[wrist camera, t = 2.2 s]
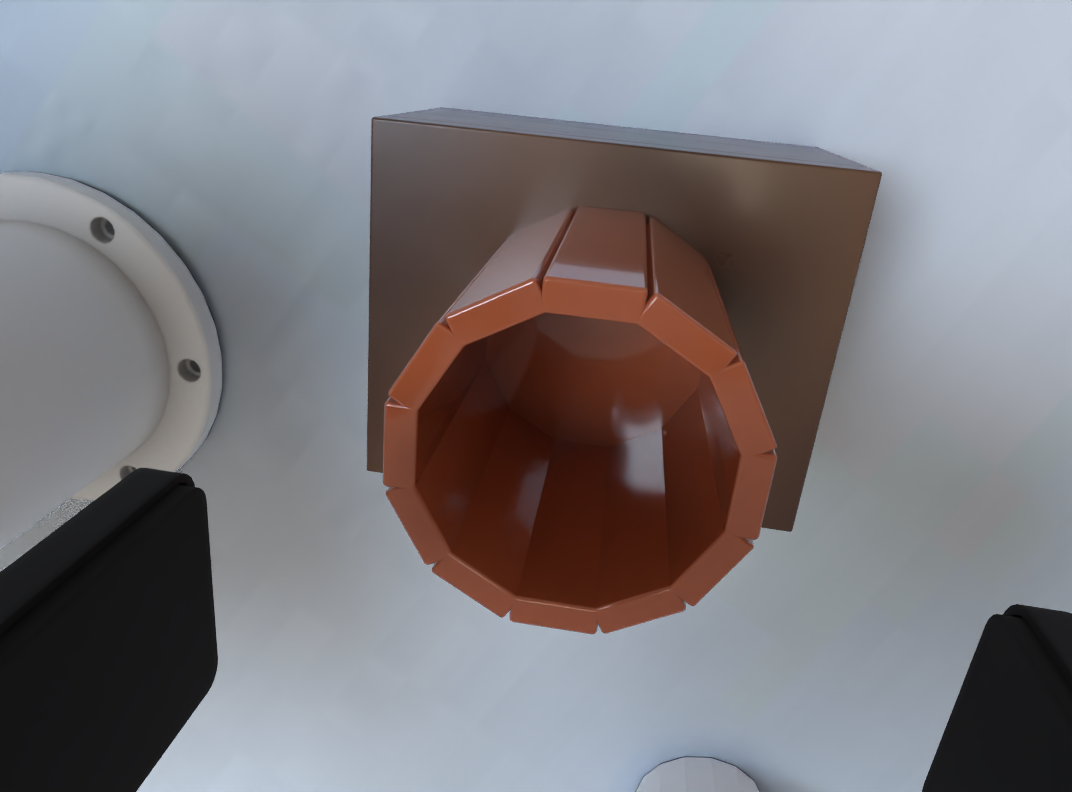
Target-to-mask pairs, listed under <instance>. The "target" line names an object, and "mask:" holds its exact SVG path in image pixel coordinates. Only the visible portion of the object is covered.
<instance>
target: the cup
mask: <svg viewBox="0 0 1072 792" xmlns="http://www.w3.org/2000/svg"><path fill="white" fill-rule="evenodd" d="M388 395H389V396H390V397H389V398H388V400H387V401H386V402H385V405H384V449H383V484H384V485H385V486H388V487H389V488H388V489H387V491H386V496H387V498H388V500H389V501H390V503H391V505H392V507H393V508H394V510H395V512H396V514H397V515H398V517H399V519H400V521H401V522H402V524H403V526H404V528H405V530H406V531H407V533H408V535H409V537H410V538H411V540H412V542H413V544H414V545H415V547H416V549H417V551H418V553H419V554H420V556H421V558H422V560H423V561H424V563H425V564H426V565H429V564H432V563H434V565H433V567H432V572H433V573H434V574H436V575H437V576H439V577H440V578H442V579H443V580H445V581H446V582H448V583H449V584H451V585H452V586H454V587H455V588H457V589H458V590H460V591H461V592H463V593H465V594H466V595H468V596H469V597H471V598H472V599H474V600H475V601H477V602H478V603H480V604H481V605H483V606H484V607H486V608H487V609H489V610H490V611H492V612H493V613H495V614H496V615H498V616H499V617H504V616H505V615H506V614H507V613H508V612H509V611H510V620H511V621H512V622H517V623H523V624H530V625H536V626H542V627H549V628H555V629H562V630H568V631H574V632H581V633H587V634H595V633H596V631H597V626H598V625H599V627H600V629H601V631H602V632H603V633H610V632H613V631H617V630H620V629H623V628H627V627H630V626H634V625H637V624H641V623H644V622H648V621H651V620H655V619H658V618H661V617H665V616H668V615H672V614H675V613H679V612H682V611H684V610H685V609H686V602H687V603H688V604H690V605H691V606H695V605H696V604H697V603H698V602H699V601H700V600H701V599H702V598H703V597H704V596H705V595H706V594H707V593H708V592H709V591H710V590H711V589H712V588H713V587H714V586H715V585H716V584H717V583H718V582H719V581H720V580H721V579H722V578H723V577H724V576H725V575H726V574H727V573H728V572H729V571H730V570H731V569H732V568H733V567H735V566H736V565H737V564H738V563H739V562H740V561H741V560H742V559H743V558H744V557H745V556H746V555H747V554H748V553H749V552H750V551H751V550H752V549H753V547H754V545H753V541H752V539H753V540H756V539H758V537H759V534H760V530H761V526H762V521H763V517H764V513H765V509H766V504H767V500H768V496H769V492H770V487H771V483H772V479H773V475H774V470H775V466H776V462H777V455H776V452H775V448H776V447H777V444H776V441H775V439H774V436H773V433H772V430H771V428H770V425H769V422H768V420H767V417H766V414H765V411H764V409H763V406H762V403H761V400H760V398H759V395H758V392H757V390H756V387H755V384H754V381H753V379H752V376H751V373H750V371H749V368H748V365H747V362H746V360H745V357H744V354H743V352H742V349H741V346H740V343H739V341H738V338H737V335H736V333H735V330H734V327H733V324H732V322H731V319H730V316H729V314H728V311H727V309H726V306H725V303H724V301H723V298H722V295H721V293H720V290H719V288H718V285H717V282H716V280H715V277H714V275H713V272H712V269H711V267H710V264H709V262H708V261H705V259H704V256H703V254H702V253H700V252H699V251H698V250H696V249H695V248H694V247H692V246H691V245H690V244H688V243H687V242H686V241H684V240H683V239H682V238H681V237H679V236H678V235H677V234H675V233H674V232H673V231H671V230H670V229H669V228H667V227H666V226H665V225H663V224H662V223H661V222H660V221H658V220H657V219H656V218H654V217H652V216H651V217H649V218H648V220H647V221H646V215H645V214H644V213H641V212H632V211H623V210H614V209H606V208H597V207H588V206H579V207H578V209H577V211H576V212H575V209H574V208H573V207H570V208H568V209H566V210H563V211H561V212H559V213H557V214H554V215H552V216H550V217H548V218H545V219H543V220H541V221H539V222H536V223H534V224H532V225H530V226H527V227H525V228H523V229H521V230H518V231H516V232H515V233H514V234H513V235H512V236H511V237H510V238H507V239H506V240H505V241H504V243H503V244H502V245H501V246H500V247H499V249H498V250H497V251H496V252H495V253H494V254H493V256H492V257H491V258H490V259H489V260H488V262H487V263H486V264H485V265H484V266H483V268H482V269H481V270H480V271H479V272H478V273H477V275H476V276H475V277H474V278H473V279H472V281H471V282H470V283H469V284H468V285H467V287H466V288H465V289H464V290H463V291H462V292H461V294H460V295H459V296H458V297H457V298H456V300H455V301H454V302H453V303H452V304H451V306H450V307H449V308H448V309H447V310H446V311H445V313H444V314H443V315H442V316H441V317H440V319H439V320H438V321H437V322H436V323H435V325H434V326H433V328H432V329H431V331H430V332H429V333H428V335H427V336H426V338H425V339H424V341H423V342H422V344H421V345H420V347H419V348H418V349H417V351H416V352H415V354H414V355H413V357H412V358H411V360H410V361H409V362H408V364H407V365H406V367H405V368H404V370H403V371H402V373H401V374H400V375H399V377H398V378H397V380H396V381H395V383H394V384H393V386H392V387H391V388H390V390H389V393H388Z"/></svg>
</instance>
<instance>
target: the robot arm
mask: <svg viewBox="0 0 1072 792" xmlns="http://www.w3.org/2000/svg"><path fill="white" fill-rule="evenodd" d="M221 391H222V356H221V351H220V346H219V341H218V336H217V331H216V326H215V324H214V321H213V319H212V316H211V314H210V311H209V308H208V306H207V303H206V301H205V298H204V296H203V294H202V292H201V290H200V289H199V287H198V285H197V284H196V282H195V280H194V279H193V277H192V275H191V274H190V272H189V270H188V268H187V267H186V265H185V264H184V263H183V261H182V260H181V259H180V258H179V257H178V255H177V254H176V253H175V252H174V250H173V249H172V248H171V247H170V246H169V244H168V243H167V242H166V241H165V240H164V238H163V237H162V236H161V235H160V234H158V233H157V232H156V231H155V230H154V229H153V228H152V227H151V226H149V225H148V224H147V223H146V222H145V221H144V220H143V219H142V218H140V217H139V216H138V215H137V214H136V213H135V212H133V211H132V210H130V209H129V208H127V207H125V206H124V205H122V204H121V203H119V202H117V201H116V200H114V199H113V198H111V197H110V196H108V195H106V194H105V193H103V192H101V191H98V190H96V189H93V188H91V187H89V186H86V185H84V184H82V183H79V182H77V181H74V180H72V179H68V178H63V177H59V176H54V175H50V174H45V173H41V172H2V173H0V550H1V549H2V548H4V547H5V546H6V545H8V544H9V543H10V542H12V541H13V540H14V539H16V538H17V537H18V536H20V535H21V534H23V533H24V532H25V531H27V530H28V529H29V528H31V527H32V526H33V525H35V524H36V523H38V522H39V521H40V520H42V519H43V518H44V517H46V516H47V515H48V514H50V513H51V512H52V511H54V510H55V509H57V508H58V507H59V506H61V505H62V504H63V503H65V502H66V501H67V500H69V499H80V500H95V501H93V502H92V503H91V504H89V505H88V506H87V507H85V508H84V509H83V510H82V511H80V512H79V513H78V514H76V515H75V516H74V517H72V518H71V519H70V520H68V521H67V522H66V523H64V524H63V525H62V526H60V527H59V528H58V529H57V530H55V531H54V532H53V533H51V534H50V535H49V536H47V537H46V538H45V539H43V540H42V541H41V542H39V543H38V544H37V545H36V546H34V547H33V548H32V549H30V550H29V551H28V552H26V553H25V554H24V555H22V556H21V557H20V558H18V559H17V560H16V561H14V562H13V563H12V564H11V565H9V566H8V567H7V568H5V569H4V570H3V571H1V572H0V792H136V791H137V790H138V788H139V787H140V786H141V784H142V783H143V782H144V780H145V779H146V777H147V776H148V775H149V773H150V772H151V770H152V769H153V768H154V766H155V765H156V763H157V762H158V761H159V759H160V758H161V757H162V755H163V754H164V752H165V751H166V750H167V748H168V747H169V745H170V744H171V743H172V741H173V740H174V738H175V737H176V736H177V734H178V733H179V732H180V730H181V729H182V727H183V726H184V725H185V723H186V722H187V720H188V719H189V718H190V716H191V715H192V714H193V712H194V711H195V709H196V708H197V707H198V705H199V704H200V702H201V701H202V700H203V698H204V697H205V695H206V694H207V693H208V691H209V689H210V688H211V686H212V683H213V681H214V678H215V675H216V671H217V666H218V655H217V641H216V627H215V613H214V599H213V585H212V571H211V557H210V543H209V529H208V515H207V501H206V496H205V493H204V491H203V490H202V489H200V488H196V487H195V484H194V482H193V480H192V478H191V477H190V476H189V475H187V474H183V473H176V471H177V470H178V469H179V468H180V467H181V466H182V465H184V464H185V463H186V462H187V461H188V460H189V459H190V458H191V457H192V456H193V455H194V453H195V452H196V451H197V450H198V448H199V447H200V446H201V444H202V443H203V442H204V440H205V439H206V438H207V435H208V433H209V431H210V429H211V426H212V424H213V422H214V420H215V417H216V415H217V411H218V406H219V401H220V396H221ZM922 792H1072V614H1071V613H1068V612H1063V611H1057V610H1051V609H1044V608H1038V607H1032V606H1025V605H1019V604H1016V605H1012V606H1010V607H1009V608H1008V609H1007V610H1006V611H1005V612H1004V614H1003V615H1000V614H996V615H993V616H992V617H990V618H989V620H988V621H987V623H986V625H985V628H984V630H983V633H982V636H981V638H980V641H979V643H978V646H977V648H976V651H975V654H974V656H973V659H972V661H971V664H970V667H969V669H968V672H967V674H966V677H965V679H964V682H963V685H962V687H961V690H960V692H959V695H958V698H957V700H956V703H955V705H954V708H953V710H952V713H951V716H950V718H949V721H948V723H947V726H946V728H945V731H944V734H943V736H942V739H941V741H940V744H939V747H938V749H937V752H936V754H935V757H934V759H933V762H932V765H931V767H930V770H929V772H928V775H927V777H926V780H925V783H924V786H923V790H922Z"/></svg>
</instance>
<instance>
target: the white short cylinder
mask: <svg viewBox="0 0 1072 792" xmlns="http://www.w3.org/2000/svg"><path fill="white" fill-rule="evenodd" d="M636 792H759V790H758V788H757V786H756V784H755V782H754V781H753V780H752V779H751V778H750V777H748V776H747V775H746V774H744V773H743V772H742V771H741V770H739V769H738V768H737V767H735V766H733V765H730V764H727V763H724V762H721V761H718V760H715V759H712V758H696V757H683V758H680V759H676V760H673V761H669V762H666V763H662V764H660V765H659V766H657V767H656V768H655V769H653V770H652V771H651V772H649V773H648V774H647V775H645V776H644V777H643V779H642V781H641V783H640V785H639V787H638V789H637V791H636Z"/></svg>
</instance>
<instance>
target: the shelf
mask: <svg viewBox="0 0 1072 792" xmlns="http://www.w3.org/2000/svg"><path fill="white" fill-rule="evenodd" d="M881 176H882V173H881V172H879V171H877V170H874V169H872V168H868V167H866V166H863V165H861V164H858V163H856V162H853V161H851V160H848V159H846V158H843V157H840V156H838V155H835V154H833V153H830V152H828V151H825V150H823V149H820V148H818V147H808V146H799V145H790V144H780V143H771V142H761V141H752V140H743V139H733V138H724V137H714V136H705V135H696V134H686V133H677V132H667V131H658V130H648V129H639V128H630V127H620V126H611V125H601V124H592V123H583V122H573V121H564V120H554V119H545V118H535V117H526V116H517V115H507V114H498V113H488V112H479V111H470V110H460V109H451V108H435V109H428V110H421V111H414V112H407V113H401V114H394V115H387V116H378V117H373V118H372V131H371V204H370V277H369V349H368V422H367V470H368V471H373V472H380V473H383V449H384V405H385V402H386V401H387V400H388V398H389V397H390V396H389V395H388V393H389V390H390V388H391V387H392V386H393V384H394V383H395V381H396V380H397V378H398V377H399V375H400V374H401V373H402V371H403V370H404V368H405V367H406V365H407V364H408V362H409V361H410V360H411V358H412V357H413V355H414V354H415V352H416V351H417V349H418V348H419V347H420V345H421V344H422V342H423V341H424V339H425V338H426V336H427V335H428V333H429V332H430V331H431V329H432V328H433V326H434V325H435V323H436V322H437V321H438V320H439V319H440V317H441V316H442V315H443V314H444V313H445V311H446V310H447V309H448V308H449V307H450V306H451V304H452V303H453V302H454V301H455V300H456V298H457V297H458V296H459V295H460V294H461V292H462V291H463V290H464V289H465V288H466V287H467V285H468V284H469V283H470V282H471V281H472V279H473V278H474V277H475V276H476V275H477V273H478V272H479V271H480V270H481V269H482V268H483V266H484V265H485V264H486V263H487V262H488V260H489V259H490V258H491V257H492V256H493V254H494V253H495V252H496V251H497V250H498V249H499V247H500V246H501V245H502V244H503V243H504V241H505V240H506V239H507V238H510V237H511V236H512V235H513V234H514V233H515V232H516V231H518V230H521V229H523V228H525V227H527V226H530V225H532V224H534V223H536V222H539V221H541V220H543V219H545V218H548V217H550V216H552V215H554V214H557V213H559V212H561V211H563V210H566V209H568V208H570V207H573V208H574V209H575V212H576V211H577V209H578V207H579V206H588V207H597V208H606V209H614V210H623V211H632V212H641V213H644V214H645V215H646V221H647V220H648V218H649V217H651V216H652V217H654V218H656V219H657V220H658V221H660V222H661V223H662V224H663V225H665V226H666V227H667V228H669V229H670V230H671V231H673V232H674V233H675V234H677V235H678V236H679V237H681V238H682V239H683V240H684V241H686V242H687V243H688V244H690V245H691V246H692V247H694V248H695V249H696V250H698V251H699V252H700V253H702V254H703V256H704V259H705V261H708V262H709V264H710V267H711V269H712V272H713V275H714V277H715V280H716V282H717V285H718V288H719V290H720V293H721V295H722V298H723V301H724V303H725V306H726V309H727V311H728V314H729V316H730V319H731V322H732V324H733V327H734V330H735V333H736V335H737V338H738V341H739V343H740V346H741V349H742V352H743V354H744V357H745V360H746V362H747V365H748V368H749V371H750V373H751V376H752V379H753V381H754V384H755V387H756V390H757V392H758V395H759V398H760V400H761V403H762V406H763V409H764V411H765V414H766V417H767V420H768V422H769V425H770V428H771V430H772V433H773V436H774V439H775V441H776V444H777V447H776V448H775V452H776V455H777V462H776V466H775V470H774V475H773V479H772V483H771V487H770V492H769V496H768V500H767V504H766V509H765V513H764V517H763V521H762V526H761V527H762V528H769V529H776V530H783V531H789V532H790V531H792V529H793V525H794V521H795V517H796V513H797V509H798V505H799V501H800V497H801V493H802V489H803V486H804V482H805V478H806V474H807V470H808V466H809V462H810V458H811V454H812V450H813V446H814V442H815V438H816V434H817V430H818V426H819V422H820V418H821V414H822V410H823V406H824V402H825V398H826V394H827V390H828V386H829V382H830V378H831V374H832V370H833V367H834V363H835V359H836V355H837V351H838V347H839V343H840V339H841V335H842V331H843V327H844V323H845V319H846V315H847V311H848V307H849V303H850V299H851V295H852V291H853V287H854V283H855V279H856V275H857V271H858V267H859V263H860V259H861V255H862V251H863V248H864V244H865V240H866V236H867V232H868V228H869V224H870V220H871V216H872V212H873V208H874V204H875V200H876V196H877V192H878V188H879V184H880V180H881Z"/></svg>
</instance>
